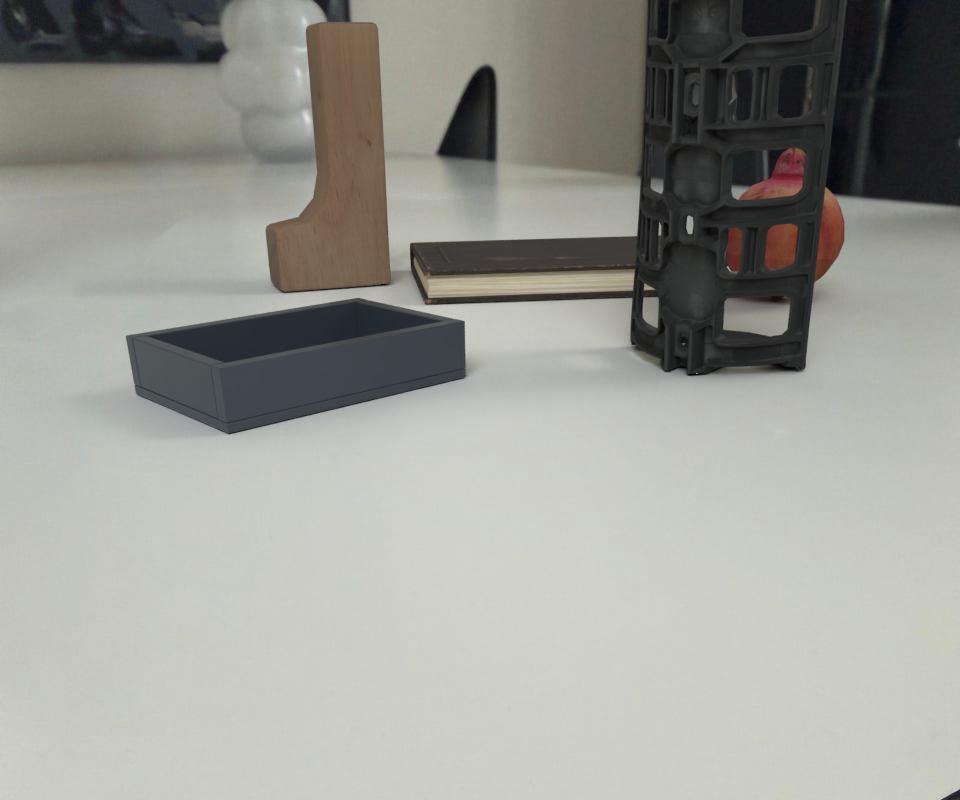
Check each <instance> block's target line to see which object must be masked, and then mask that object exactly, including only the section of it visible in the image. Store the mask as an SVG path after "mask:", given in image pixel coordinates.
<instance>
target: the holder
mask: <svg viewBox="0 0 960 800" xmlns="http://www.w3.org/2000/svg"><path fill="white" fill-rule="evenodd" d="M743 5H744V0H668V21H667V36H666V37H665V38H659V37H658V26H659V25H658V21H659V0H647V12H646V17H647V18H646V40H645V41H646V43H645V67H644V68H645V70H644V94H643V95H644V97H643V119H642V120H643V123H642V144H641V145H642V147H641V168H640V187H639V201H638V217H637V232H636V236H637V244H636V257H635V270H634V284H633V297H631V298H632V299H631V311H630V313H631V314H630V329H629V331H630V334H629V341H630V344H631V346H636V347H637V348H638V349H640V350H641V351H642V352H644V353H645V354H647V355H649V356H651V357H653V358H656V359H659V360H660V367H661V368H662V370H663V371H664V372H670V371H672V370H674V369H676V368H678V367H686V374H687V373H688V374H696V373H698V375H703V373H705V374H708V373H710V372H712V371H715V370H717V369H719V368H743V367H745V368H746V367H747V368H748V367H761V366H768V365H777V364H779V365H782V366H783V367H785V368H798V369H799V370H800V371H804V370H805V369H806V367H807V354H808V353H807V352H808V346H809V345H808V344H809V336H810V335H809V334H810V325H811V318H812V317H811V316H812V307H813V300H814V299H813V298H814V289H815V283H816V282H815V272H816V264H817V256H818V248H819V239H820V230H821V221H822V213H823V204H824V195H825V187H826V185H827V178H828V169H829V160H830V152H831V143H832V135H833V127H834V118H835V110H836V109H835V108H836V102H837V101H836V100H837V93H838V84H839V76H840V75H839V74H840V66H841V57H842V48H843V40H844V31H845V23H846V13H847V5H848V0H821V1H820V11H819V19H818V23H817V25H816V26H815V27H813V28H811V29H808V30H805V31H802V32H793V33H784V34H783V33H782V34H774V35H763V36H761V35H760V36H749V37H748V35H746V34H745V33H744V32H743V23H742V22H743V8H744V7H743ZM803 65H804V66H807V67H809V68H811V69H813V77H812V88H811V98H810V109H809V110H807V112H806V113H804V114H802V115H800V116H795V117H783V116H782V115H780V114H779V91H780V83H781V74H782V72H783V70H784V69H786V68H788V67H792V66H803ZM747 70H748V71H749V70H750V71H751V72H752V88H751V99H750V111H749V112H750V113H749V118H747V119H744V120H739V119H738V116H737V107H738V106H737V105H738V88H739V84H740V79H741V75H742V71H747ZM665 78H666V80H665ZM665 81H666V83H665ZM665 85H666V86H665ZM695 85H696V86H698V102H697V103H698V104H694V103H693V97H694V96H693V95H694V88H695ZM664 108H665V109H664ZM664 110H665V112H664ZM664 113H665V115H664ZM654 147H656V148H660V149H661V151H662V152H663V179H662V182H663V184H662V192H661V193H660V192H658V191H655V190H654V189H653V188H652V187H651V186H652V170H653V169H652V168H653V152H654V151H653V149H654ZM789 148H798V149H801V150H802V151H803V152H804V153H805V154H806V156H805V166H804V175H803V184H802V188H801V190H800V191H799V192H798V193H796V194H794V195H792V196H784V197H776V198H767V199H754V200H738V199H737V198H736V197H734V195H733V192H732V189H733V173H734V170H733V169H734V158H735V157H737V156H738V155H739V154H742V153H745V152H749V151H750V152H751V151H783V150H787V149H789ZM826 188H827V187H826ZM688 217H691V218H692V222H693V223H692V233H689V232H688V229H687V224H688ZM783 224H793V225H795V226H797V227H798V232H797V241H796V251H795V262H793V263H792V264H791V265H789V266H787V267H785V268H781V269H770V268H768V267H767V266H766V265H765V254H766V242H767V234H768V230H769V229H770V228H771V227H772V226H776V225H783ZM731 228H738V229H739V230H740V231H741V232H742V249H741V263H740V270H739V271H731V270H730V269H729V267H728V266H727V252H728V238H729V229H731ZM659 235H661V255H660V263H659V260H658V237H659ZM814 282H815V283H814ZM644 284H646V285H648V286H650V287H652V288H654V289H655V290H656V291H657V292H658V296H657V298H658V309H657V310H658V311H657V313H658V314H657V327H656V326H654V325H652V324H651V323H649V322H647V321H646V320H645V319H644V314H643V312H644V309H643V308H644V298H645V296H644ZM769 296H784V297H786V298H788V299H790V302H789V310H788V311H789V312H788V321H787V329H786V330H785V331H784V332H783V333H782V334H777V335H772V336H769V335H766V334H761V333H756V332H750V331H742V330H740V331H739V330H731V329H724V322H725V321H724V319H725V304H726V303H725V302H727V300H728V299H745V298H746V299H747V298H763V297H769ZM666 370H667V371H666ZM669 370H670V371H669ZM700 373H702V374H700ZM688 374H687V375H688Z"/></svg>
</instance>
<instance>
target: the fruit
mask: <svg viewBox="0 0 960 800" xmlns="http://www.w3.org/2000/svg"><path fill="white" fill-rule="evenodd" d="M805 156H806V153H805V152H804V150H803V149H798V148H788V149H785V151H783V152H782V153H781V154H780V155H779V157H778V159H777V160H776V163H775V165H774V168H773V171H772V173H771V177H770V178H769V179H767V180H766V179H765V180H763V181H760V182H758V183H755V184H752V185H751V186H750V187H749V188H748V189H746V190H745V191H743V193H742V194H741V195H740V196H739V197H738V199H737V200H754V199H767V198H776V197H784V196H792V195H794V194H796V193H798V192H799V191H800V190H801V188H802V184H803V175H804V166H805ZM797 232H798V227H797V226H795V225H793V224H783V225H776V226H772V227H771V228H770V229H769V230H768V234H767V242H766V254H765V265H766V266H767V267H768V268H770V269H781V268H785V267H787V266H789V265H791V264H792V263H793V262H795V251H796V241H797ZM844 243H845V218H844V214H843V211H842V208H841V206H840V203H839V202H838V199H837V197H836V196H835V195H834V193H833V192H832V191H831V190H830V189H829V188H828V187H825V195H824V204H823V213H822V221H821V230H820V239H819V248H818V256H817V264H816V272H815V282H814V284H815V283H816V282H818V281H820V279H822V277H824V276H825V275H826V273H827V272H828V271H829V270H830V268H831V267H832V266H833V264H834V263H835V262H836V260H837V259H838V258H839V256H840V254H841V251H842V249H843V245H844ZM741 249H742V232H741V231H740V230H739V229H738V228H731V229H729V238H728V252H727V264H728V266H727V268H728V269H729V271H739V270H740V263H741ZM768 297H769V298H770V300H773V301H775V302H779V301H780V300H782V299H783V298H784V297H785V296H768Z"/></svg>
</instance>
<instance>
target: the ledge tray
mask: <svg viewBox="0 0 960 800" xmlns="http://www.w3.org/2000/svg"><path fill="white" fill-rule="evenodd" d="M125 340H126V346H127V352H128V358H129V363H130V367H131V368H130V369H131V375H132V379H133V384H134V390H135V394H136V395H137V396H140V397H143V398H145V399H147V400H149V401H152V402H154V403H156V404H159V405H161V406H163V407H166V408H168V409H171V410H173V411H176V412H177V413H179V414H182V415H184V416H187V417H188V418H189V417H190V418H191V419H194V420H196V421H198V422H201V423H203V424H206V425H208V426H209V427H212V428H214V429H217V430H220V431H222V432H224V433H226V434H233V433H237V432H241V431H245V430H246V431H247V430H249V429H250V430H251V429H255V428H258V427H263V426H266V425H271V424H274V423H275V424H276V423H279V422H283V421H288V420H291V419H295V418H300V417H304V416H308V415H312V414H317V413H321V412H326V411H330V410H334V409H338V408H343V407H347V406H350V405H354V404H359V403H363V402H367V401H371V400H376V399H379V398H380V399H381V398H383V397H384V398H385V397H388V396H393V395H397V394H401V393H405V392H409V391H413V390H418V389H421V388H426V387H430V386H435V385H439V384H442V383H447V382H451V381H455V380H461V379H464V378H466V377H467V372H466V370H467V369H466V367H467V366H466V365H467V364H466V362H467V359H466V322H465V320H462V319H457V318H452V317H448V316H443V315H438V314H435V313H429V312H425V311H419V310H415V309H411V308H407V307H401V306H397V305H393V304H388V303H384V302H380V301H375V300H371V299H366V298H362V297H354V298H348V299H341V300H336V301H330V302H323V303H317V304H311V305H306V306H305V305H304V306H300V307H292V308H287V309H281V310H273V311H269V312H268V311H267V312H262V313H256V314H250V315H243V316H238V317H232V318H224V319H220V320H212V321H207V322H200V323H195V324H189V325H182V326H176V327H169V328H165V329H164V328H162V329H158V330H152V331H146V332H139V333H134V334H127V335H125Z"/></svg>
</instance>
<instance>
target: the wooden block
mask: <svg viewBox="0 0 960 800" xmlns="http://www.w3.org/2000/svg"><path fill="white" fill-rule="evenodd" d="M305 39H306V51H307V65H308V78H309V86H310V87H309V90H310V102H311V103H310V104H311V115H312V125H313V126H312V128H313V138H314V139H313V140H314V141H313V142H314V152H315V165H316V177H315V183H314V190H313V196H312V199H311V200H310V201H309V202H308V204H307V205H306V206H305V207H304V208H303V210H302V211H301V213H300V214H299V215H298V216H297V217H296V216H295V217H292V218H288V219H284V220H280V221H277V222H272V223H269V224H268V225H266V226H265V240H266V249H267V250H266V251H267V260H268V268H269V279H270V281H271V283H272V285H273V286H275V287H276V288H277V289H278V290H280V291H281V292H283V293H291V292H306V291H319V290H330V289H331V290H332V289H333V290H334V289H346V288H358V287H359V288H361V287H373V286H374V285H375V286H382V285H381V284H386V285H389V284H390V282H391V279H392V277H391V258H390V240H389V239H390V238H389V223H388V222H389V219H388V203H387V202H388V199H387V178H386V177H387V176H386V157H385V139H384V138H385V137H384V119H383V118H384V117H383V100H382V99H383V97H382V79H381V76H382V75H381V59H380V57H381V56H380V41H379V40H380V38H379V27H378V24H377V23H374V22H372V21H369V22H368V21H320V22H316V23H313V24H312V23H311V24H310V25H307V26H306V29H305Z"/></svg>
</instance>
